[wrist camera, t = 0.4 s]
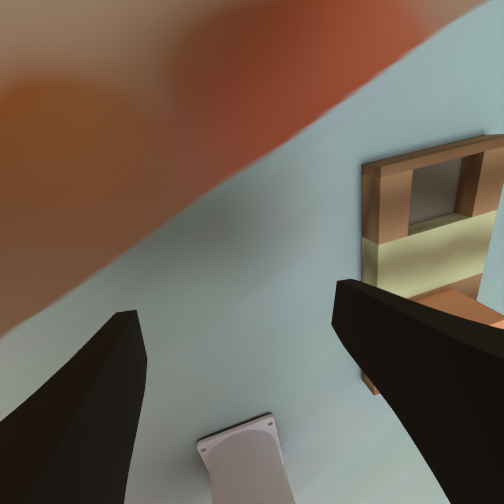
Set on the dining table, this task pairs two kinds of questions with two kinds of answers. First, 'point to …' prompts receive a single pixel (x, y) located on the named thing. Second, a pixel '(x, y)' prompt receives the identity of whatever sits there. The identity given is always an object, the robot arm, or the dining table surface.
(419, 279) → the board
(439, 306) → the block
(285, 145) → the dining table surface
